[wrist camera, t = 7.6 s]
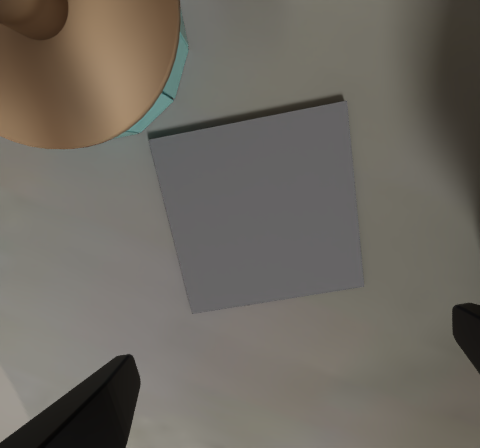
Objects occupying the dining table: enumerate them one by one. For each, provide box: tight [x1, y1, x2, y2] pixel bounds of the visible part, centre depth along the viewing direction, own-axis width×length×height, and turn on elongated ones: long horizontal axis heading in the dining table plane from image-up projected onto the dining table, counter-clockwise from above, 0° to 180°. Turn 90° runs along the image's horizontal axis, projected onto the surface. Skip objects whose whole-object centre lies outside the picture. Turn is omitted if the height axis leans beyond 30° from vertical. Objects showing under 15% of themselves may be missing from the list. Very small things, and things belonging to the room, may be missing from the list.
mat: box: [149, 101, 364, 314], centre depth 20 cm, size 12×12×1 cm
